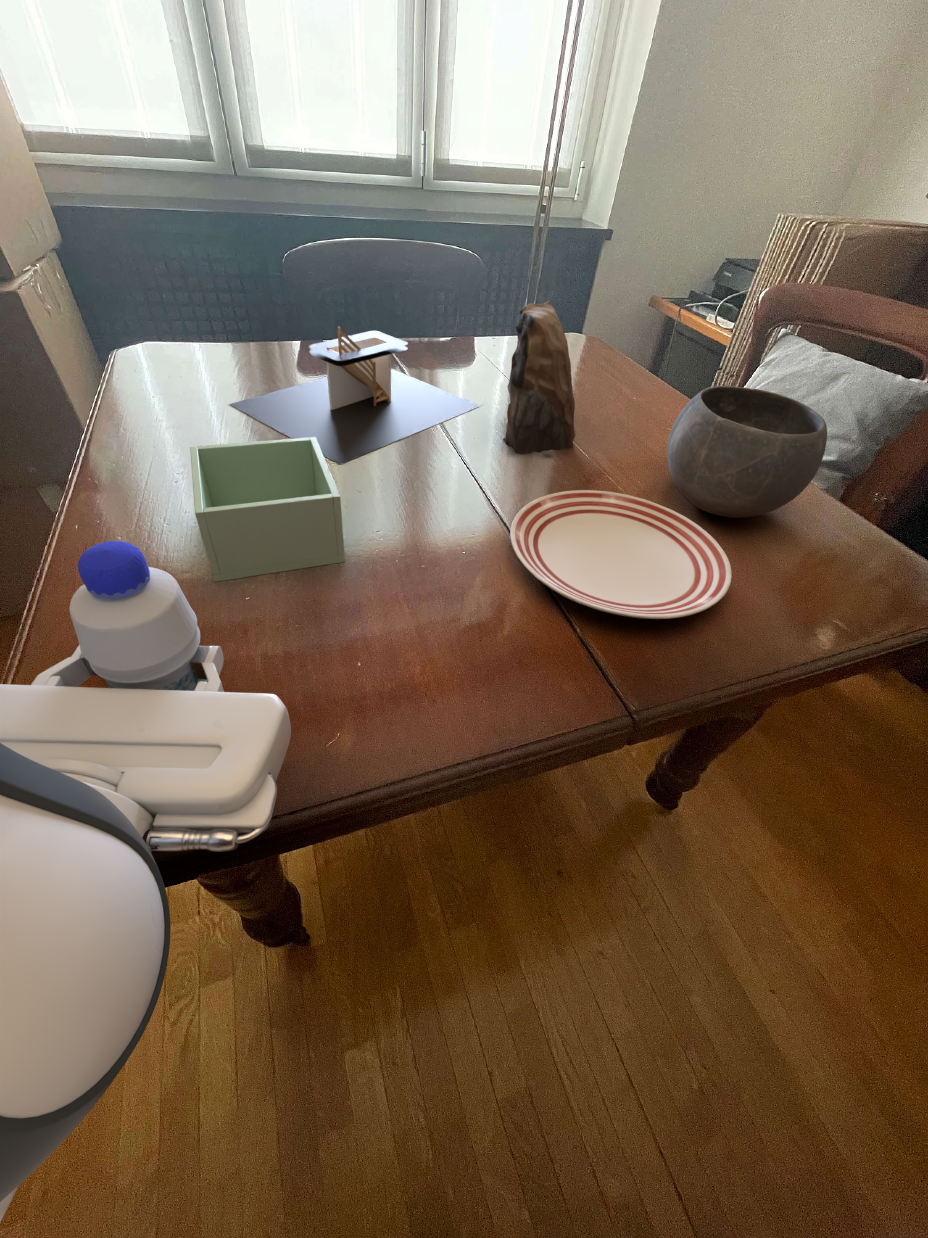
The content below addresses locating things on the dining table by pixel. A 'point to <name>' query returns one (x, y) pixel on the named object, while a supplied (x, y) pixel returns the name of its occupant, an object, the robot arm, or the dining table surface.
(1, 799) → the robot arm
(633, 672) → the dining table surface
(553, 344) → the brown carved statue
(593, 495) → the dinner plate
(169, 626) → the bottle
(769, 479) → the bowl
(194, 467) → the open storage bin
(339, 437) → the architectural model
